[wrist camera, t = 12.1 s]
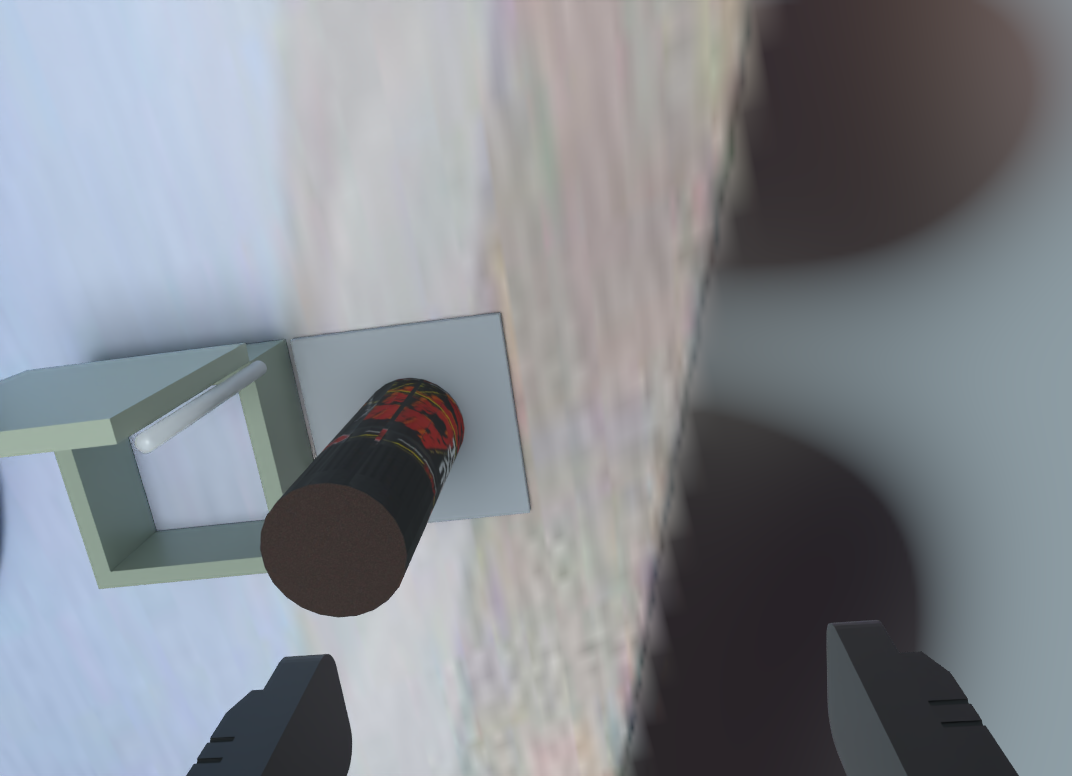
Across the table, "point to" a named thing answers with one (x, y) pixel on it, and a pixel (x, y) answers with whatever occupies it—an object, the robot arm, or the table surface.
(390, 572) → the deodorant
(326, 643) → the table surface
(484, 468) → the mat
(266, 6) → the table surface
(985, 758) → the robot arm
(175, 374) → the case
